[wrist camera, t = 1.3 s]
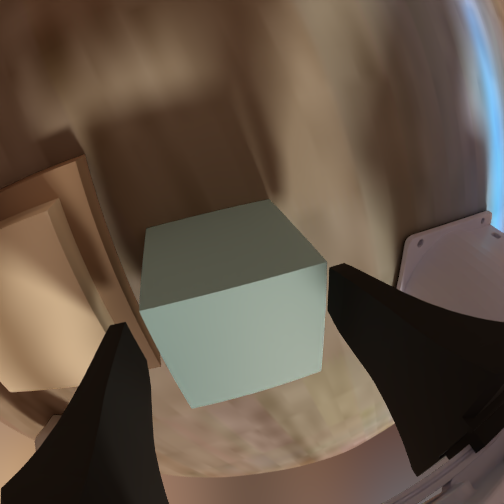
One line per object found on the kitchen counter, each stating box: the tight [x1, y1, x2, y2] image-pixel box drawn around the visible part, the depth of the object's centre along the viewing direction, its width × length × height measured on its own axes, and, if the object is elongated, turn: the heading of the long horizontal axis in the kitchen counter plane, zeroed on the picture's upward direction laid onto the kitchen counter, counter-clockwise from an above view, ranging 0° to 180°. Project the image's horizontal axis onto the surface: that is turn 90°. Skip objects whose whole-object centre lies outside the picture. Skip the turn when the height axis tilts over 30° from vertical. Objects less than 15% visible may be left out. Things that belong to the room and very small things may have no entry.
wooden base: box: [0, 154, 161, 392], centre depth 10 cm, size 10×10×2 cm
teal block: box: [139, 199, 327, 408], centre depth 11 cm, size 5×5×5 cm
